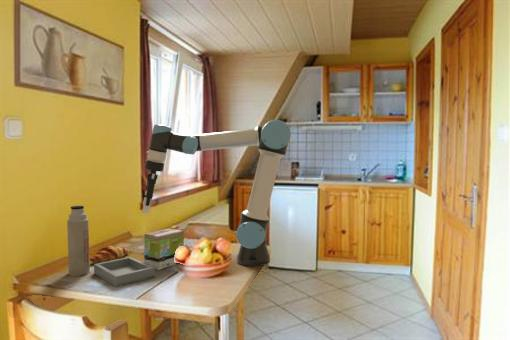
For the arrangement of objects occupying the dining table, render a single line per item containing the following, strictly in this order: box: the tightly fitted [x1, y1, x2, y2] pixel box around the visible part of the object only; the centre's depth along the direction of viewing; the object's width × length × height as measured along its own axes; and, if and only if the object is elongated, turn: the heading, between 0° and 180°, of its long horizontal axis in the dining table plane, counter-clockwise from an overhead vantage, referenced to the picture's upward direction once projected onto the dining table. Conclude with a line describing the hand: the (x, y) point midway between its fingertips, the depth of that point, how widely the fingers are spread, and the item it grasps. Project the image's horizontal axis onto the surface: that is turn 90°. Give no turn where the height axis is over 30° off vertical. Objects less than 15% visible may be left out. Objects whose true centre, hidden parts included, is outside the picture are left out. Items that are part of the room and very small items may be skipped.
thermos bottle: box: [66, 205, 91, 277], centre depth 164 cm, size 8×8×28 cm
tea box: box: [143, 228, 185, 271], centre depth 176 cm, size 15×10×15 cm, turn 147°
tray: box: [93, 256, 156, 288], centre depth 161 cm, size 21×16×4 cm
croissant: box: [89, 245, 130, 264], centre depth 184 cm, size 21×10×8 cm, turn 150°
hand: (145, 209), depth 169 cm, fingers open, 13 cm apart
